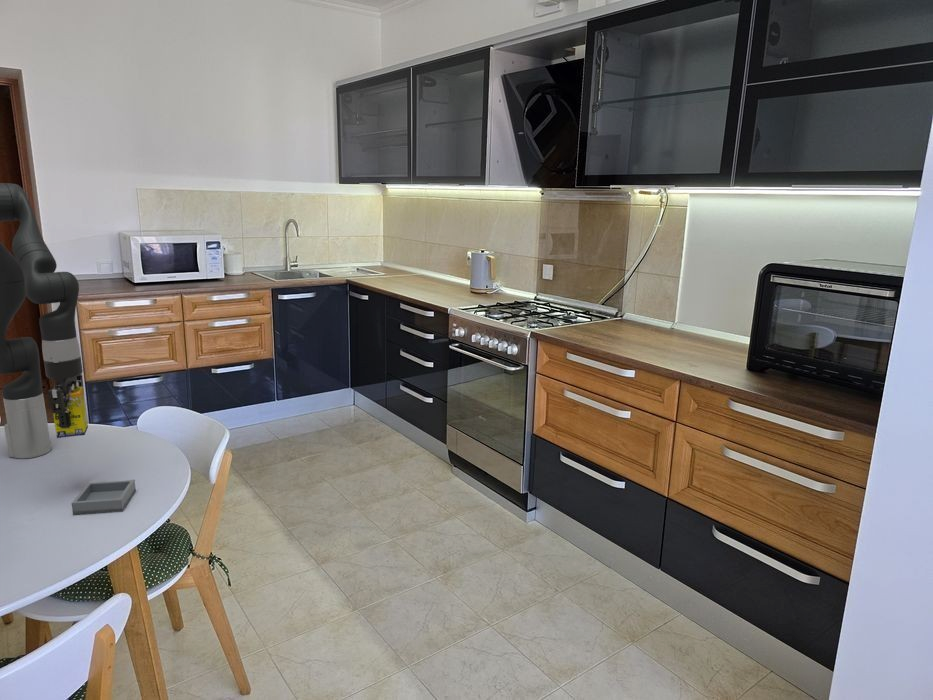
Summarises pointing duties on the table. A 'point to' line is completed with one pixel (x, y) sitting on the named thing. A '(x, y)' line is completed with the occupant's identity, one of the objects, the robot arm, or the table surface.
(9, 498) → the table surface
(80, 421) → the supplement box
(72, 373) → the robot arm
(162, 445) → the table surface
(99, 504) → the holder
